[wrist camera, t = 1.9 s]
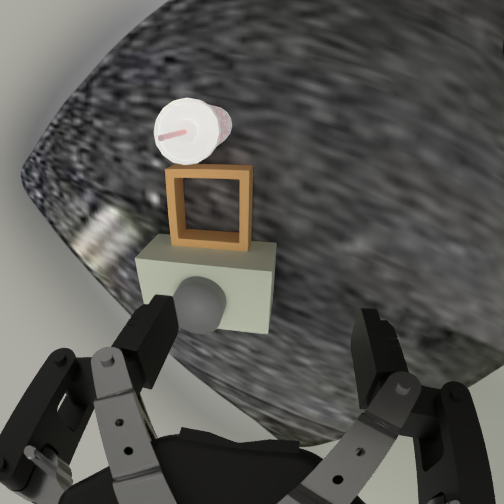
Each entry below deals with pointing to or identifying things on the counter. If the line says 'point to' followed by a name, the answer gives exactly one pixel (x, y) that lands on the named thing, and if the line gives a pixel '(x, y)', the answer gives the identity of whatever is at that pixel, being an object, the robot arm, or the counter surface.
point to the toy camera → (210, 262)
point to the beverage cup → (190, 130)
